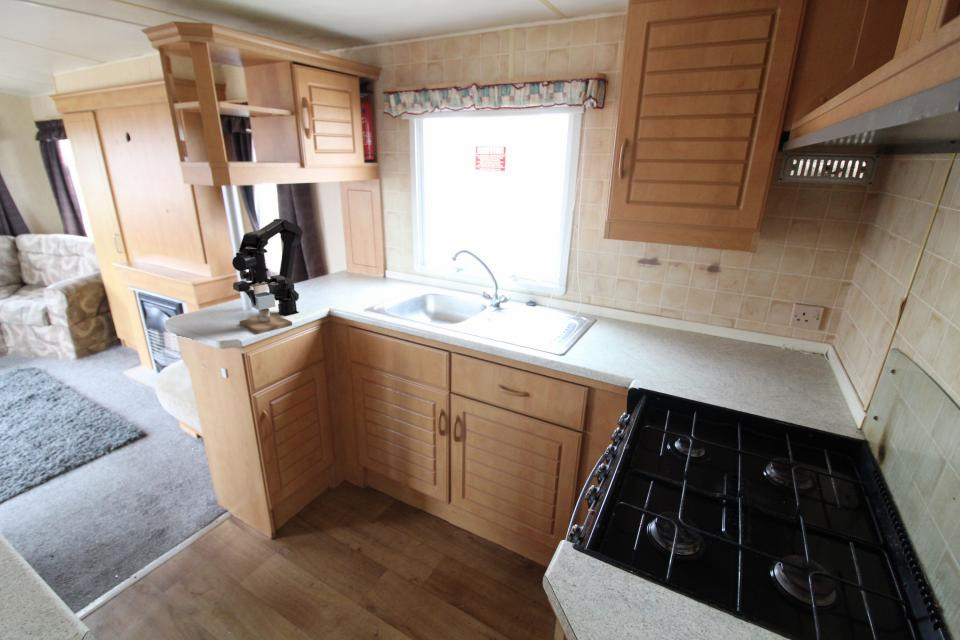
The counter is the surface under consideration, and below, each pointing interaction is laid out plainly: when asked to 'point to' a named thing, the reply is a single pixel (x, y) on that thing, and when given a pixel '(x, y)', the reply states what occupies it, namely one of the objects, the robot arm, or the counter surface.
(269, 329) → the board
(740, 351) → the counter surface
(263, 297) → the duct collar
